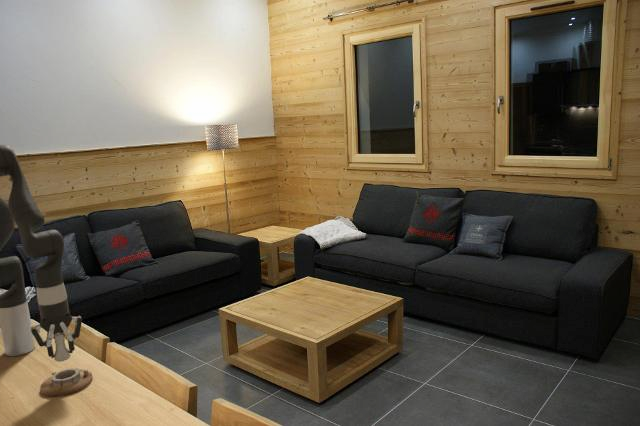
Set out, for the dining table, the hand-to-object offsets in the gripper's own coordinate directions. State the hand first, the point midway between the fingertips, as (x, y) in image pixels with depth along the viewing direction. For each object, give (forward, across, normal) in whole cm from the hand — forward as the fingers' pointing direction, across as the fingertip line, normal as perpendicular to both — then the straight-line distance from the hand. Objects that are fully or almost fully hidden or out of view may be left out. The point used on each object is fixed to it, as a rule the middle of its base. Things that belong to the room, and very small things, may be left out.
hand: (61, 354), depth 159 cm
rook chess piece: (+1, 0, 0) cm, 1 cm away
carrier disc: (+10, 0, 0) cm, 10 cm away
